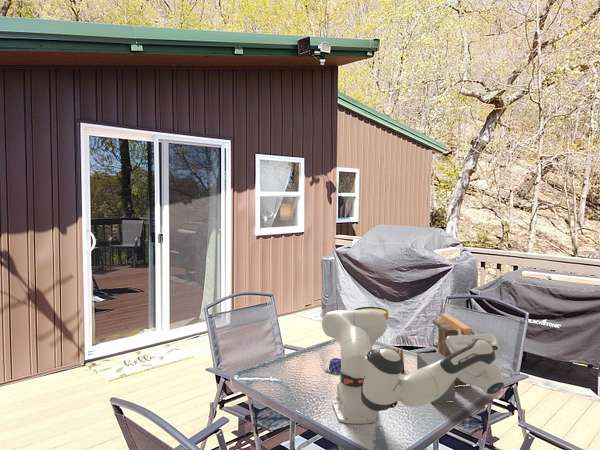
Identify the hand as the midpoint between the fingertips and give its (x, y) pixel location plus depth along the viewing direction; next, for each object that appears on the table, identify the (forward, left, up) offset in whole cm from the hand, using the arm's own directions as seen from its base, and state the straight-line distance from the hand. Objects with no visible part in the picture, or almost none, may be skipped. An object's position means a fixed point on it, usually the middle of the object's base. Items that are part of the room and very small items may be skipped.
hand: (464, 329), depth 191 cm
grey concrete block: (0, +12, -28) cm, 30 cm away
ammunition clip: (+23, +27, -28) cm, 45 cm away
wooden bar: (+9, +2, -2) cm, 9 cm away
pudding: (+26, +54, -28) cm, 66 cm away
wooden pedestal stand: (+14, +2, -28) cm, 31 cm away
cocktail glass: (+42, +36, -28) cm, 62 cm away
